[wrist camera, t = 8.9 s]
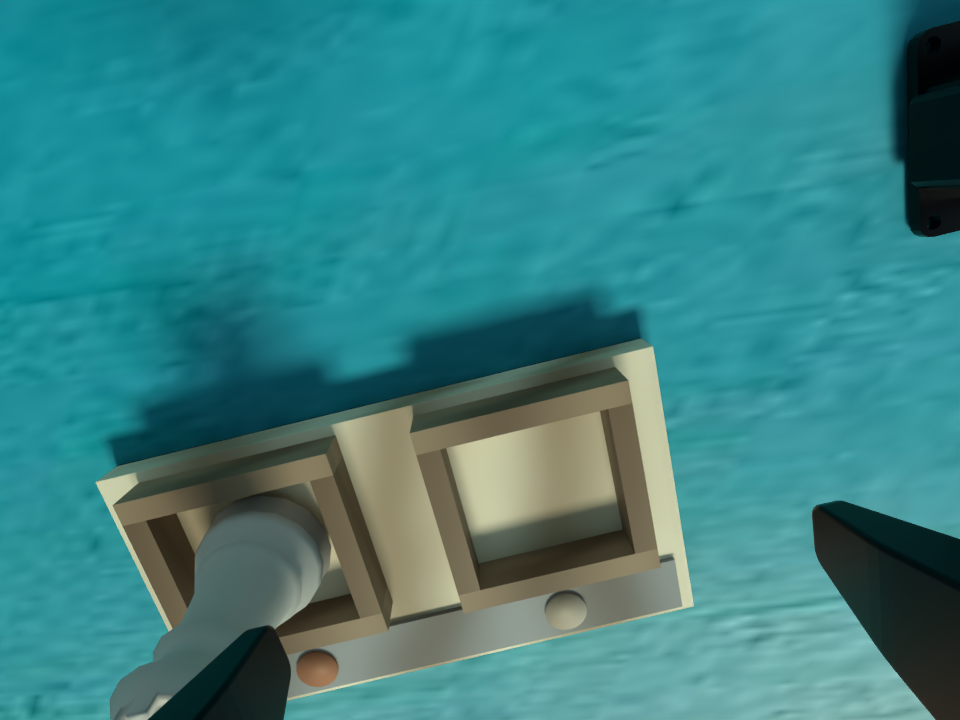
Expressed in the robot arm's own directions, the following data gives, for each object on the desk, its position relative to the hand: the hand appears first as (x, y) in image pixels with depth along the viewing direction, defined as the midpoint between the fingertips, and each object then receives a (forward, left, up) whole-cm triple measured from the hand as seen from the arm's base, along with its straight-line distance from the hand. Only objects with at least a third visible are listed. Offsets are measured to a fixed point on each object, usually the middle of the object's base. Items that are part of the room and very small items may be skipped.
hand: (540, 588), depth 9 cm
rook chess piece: (+9, +4, -10) cm, 15 cm away
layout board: (+4, +5, -11) cm, 13 cm away
